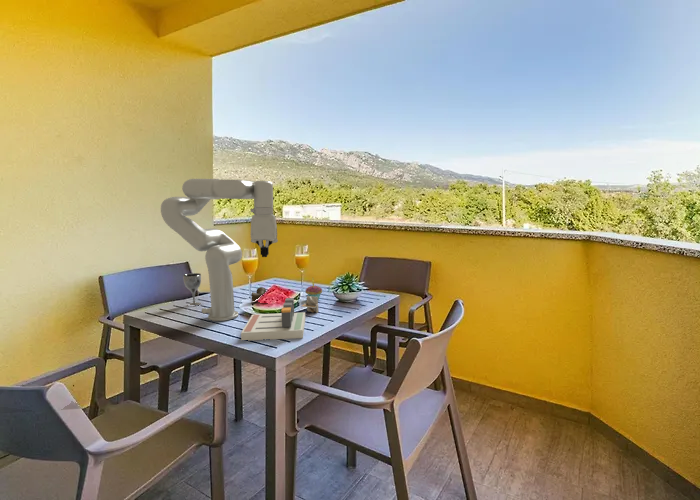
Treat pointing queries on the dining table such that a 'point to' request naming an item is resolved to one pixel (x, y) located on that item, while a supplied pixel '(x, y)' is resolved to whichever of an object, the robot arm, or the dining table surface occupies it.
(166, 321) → the dining table surface
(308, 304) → the architectural model
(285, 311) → the grey upright block
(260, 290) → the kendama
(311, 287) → the cupcake
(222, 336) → the dining table surface
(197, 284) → the wine glass
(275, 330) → the switch panel
